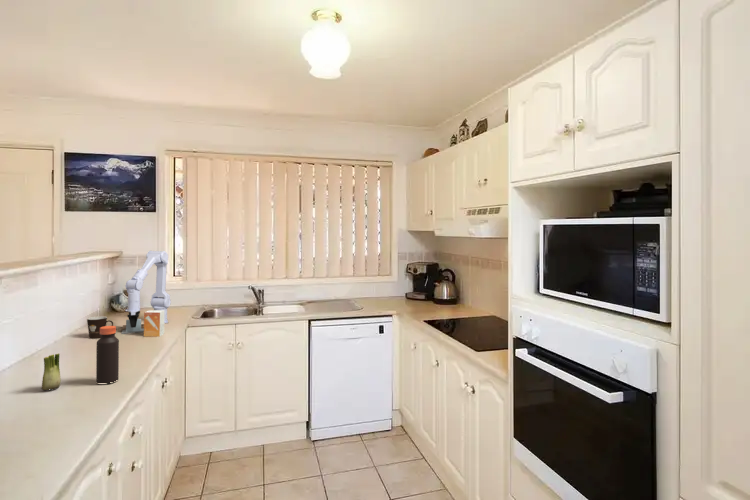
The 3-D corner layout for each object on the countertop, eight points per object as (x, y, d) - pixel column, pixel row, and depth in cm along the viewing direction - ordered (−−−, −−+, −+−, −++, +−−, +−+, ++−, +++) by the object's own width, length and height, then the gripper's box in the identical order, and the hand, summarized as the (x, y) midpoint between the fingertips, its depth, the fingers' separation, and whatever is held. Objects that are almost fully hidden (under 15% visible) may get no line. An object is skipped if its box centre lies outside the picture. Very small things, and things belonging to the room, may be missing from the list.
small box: (143, 336, 212) (143, 312, 212) (148, 334, 218) (148, 310, 218) (159, 336, 213) (160, 312, 213) (164, 334, 219) (164, 310, 219)
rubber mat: (122, 330, 224) (122, 329, 224) (145, 329, 229) (145, 328, 229) (121, 334, 217) (121, 333, 217) (145, 332, 222) (145, 331, 222)
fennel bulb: (58, 385, 143) (58, 351, 142) (64, 388, 140) (65, 354, 140) (38, 390, 138) (38, 355, 137) (44, 393, 135) (44, 358, 135)
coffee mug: (82, 338, 207) (82, 318, 206) (99, 334, 215) (99, 315, 214) (98, 340, 202) (98, 320, 202) (114, 337, 210) (114, 317, 210)
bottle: (101, 386, 143) (102, 330, 142) (92, 382, 146) (92, 327, 146) (122, 381, 148) (122, 326, 148) (112, 377, 152) (113, 324, 151)
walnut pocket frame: (122, 327, 232) (123, 325, 232) (147, 325, 238) (147, 323, 238) (121, 330, 224) (121, 328, 224) (146, 328, 230) (146, 326, 230)
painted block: (126, 330, 223) (126, 319, 223) (141, 329, 226) (141, 318, 226) (126, 331, 220) (126, 320, 219) (140, 330, 223) (141, 319, 223)
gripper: (126, 299, 227) (126, 323, 227) (124, 303, 214) (124, 329, 215) (141, 299, 230) (140, 322, 231) (139, 303, 217) (139, 328, 218)
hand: (133, 325), depth 223 cm, fingers open, 7 cm apart
